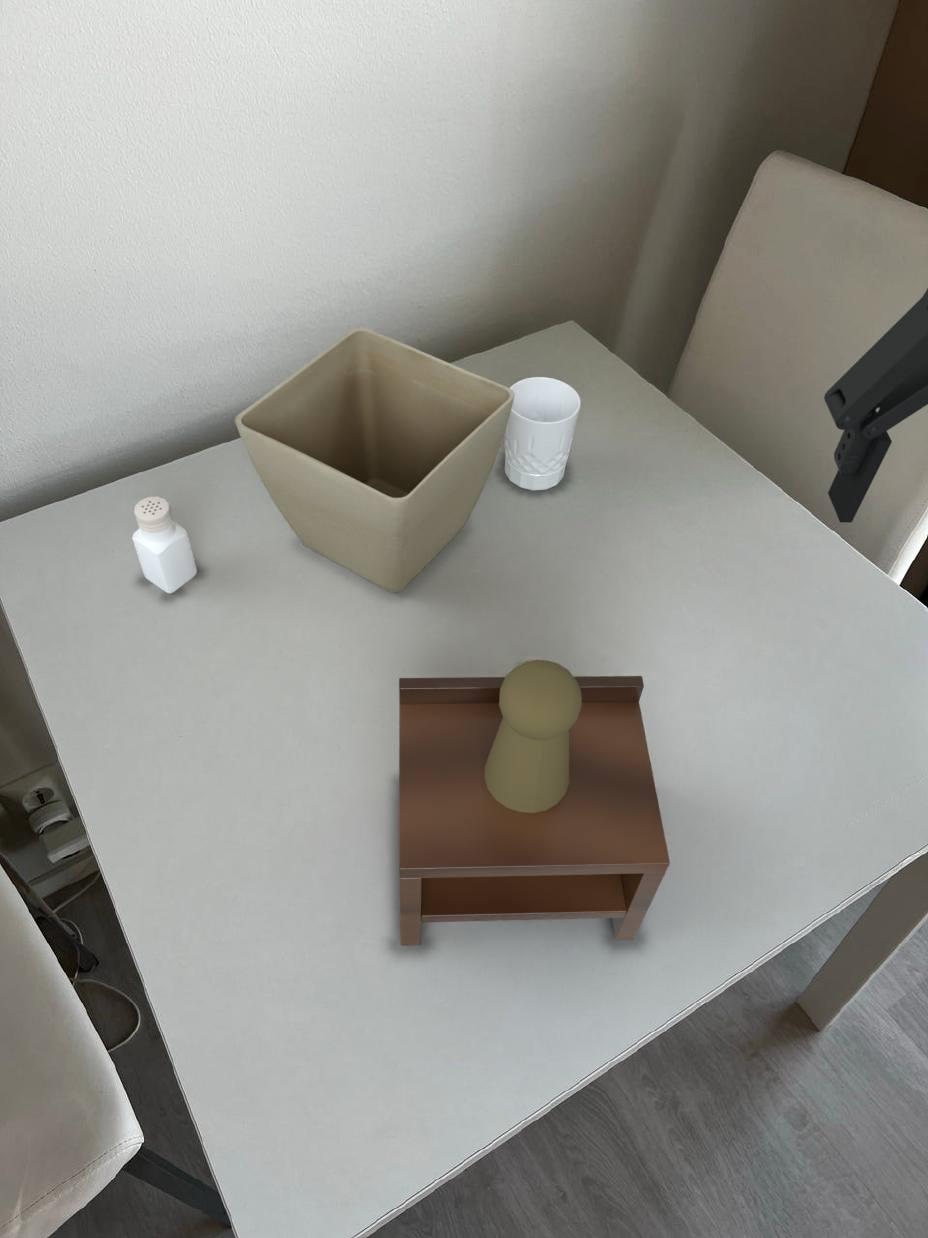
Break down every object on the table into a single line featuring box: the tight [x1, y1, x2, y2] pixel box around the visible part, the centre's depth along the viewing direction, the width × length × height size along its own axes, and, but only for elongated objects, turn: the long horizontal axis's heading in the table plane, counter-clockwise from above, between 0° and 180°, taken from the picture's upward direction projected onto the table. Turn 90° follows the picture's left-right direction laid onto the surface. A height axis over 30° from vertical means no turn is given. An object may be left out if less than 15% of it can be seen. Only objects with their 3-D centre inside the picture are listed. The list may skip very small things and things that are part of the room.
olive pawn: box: [484, 659, 582, 813], centre depth 62 cm, size 6×6×11 cm
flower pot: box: [234, 326, 515, 593], centre depth 94 cm, size 19×19×17 cm
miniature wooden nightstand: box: [398, 675, 671, 946], centre depth 71 cm, size 14×18×16 cm
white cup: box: [503, 376, 582, 491], centre depth 104 cm, size 8×8×10 cm
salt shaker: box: [131, 496, 198, 594], centre depth 91 cm, size 4×4×10 cm
